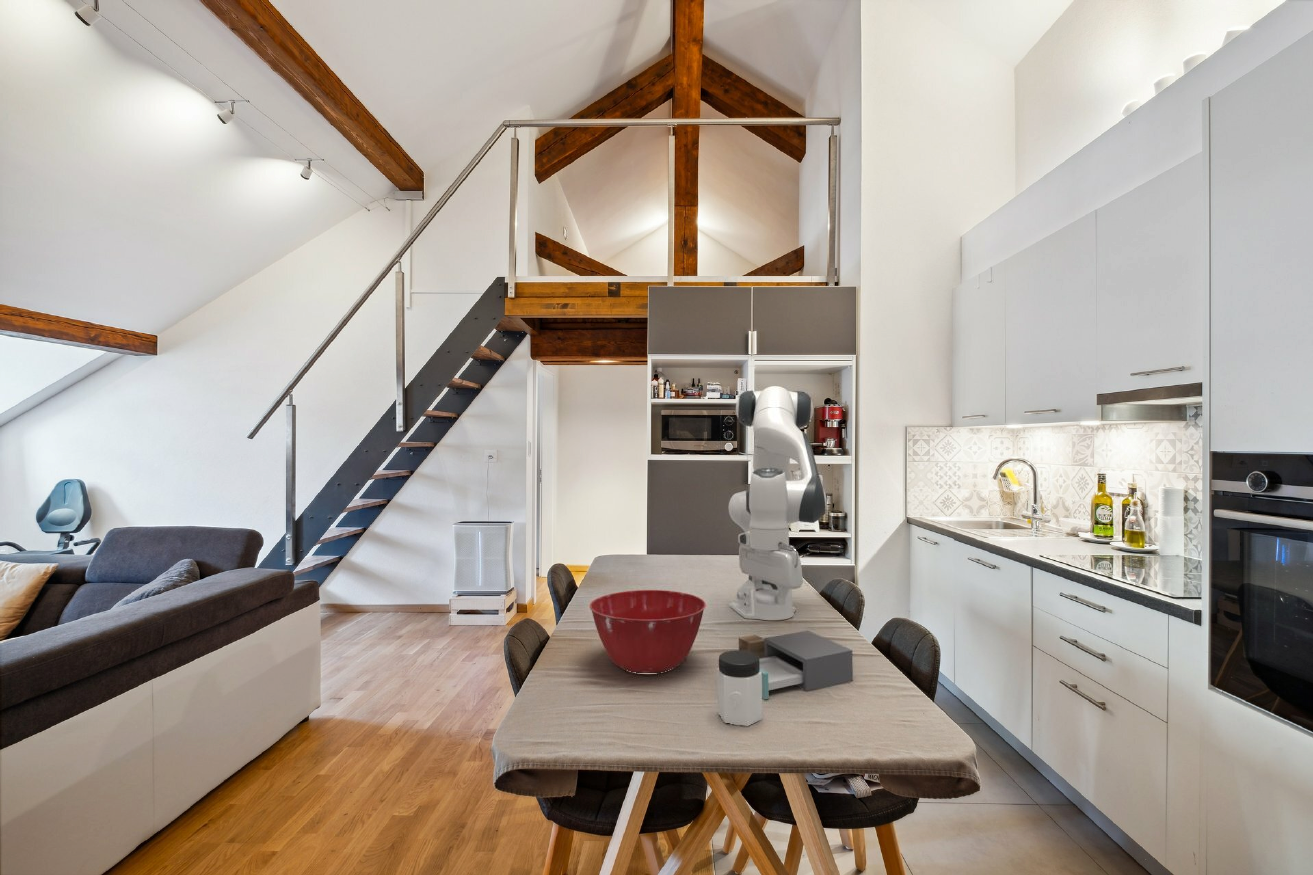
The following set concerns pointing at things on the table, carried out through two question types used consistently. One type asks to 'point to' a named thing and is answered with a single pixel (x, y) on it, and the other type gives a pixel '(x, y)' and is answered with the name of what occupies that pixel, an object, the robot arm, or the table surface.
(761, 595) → the disc
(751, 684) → the jar
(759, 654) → the walnut block
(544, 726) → the table surface
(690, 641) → the mixing bowl
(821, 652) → the grey drawer box
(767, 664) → the tray
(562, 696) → the table surface
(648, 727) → the table surface
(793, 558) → the robot arm
